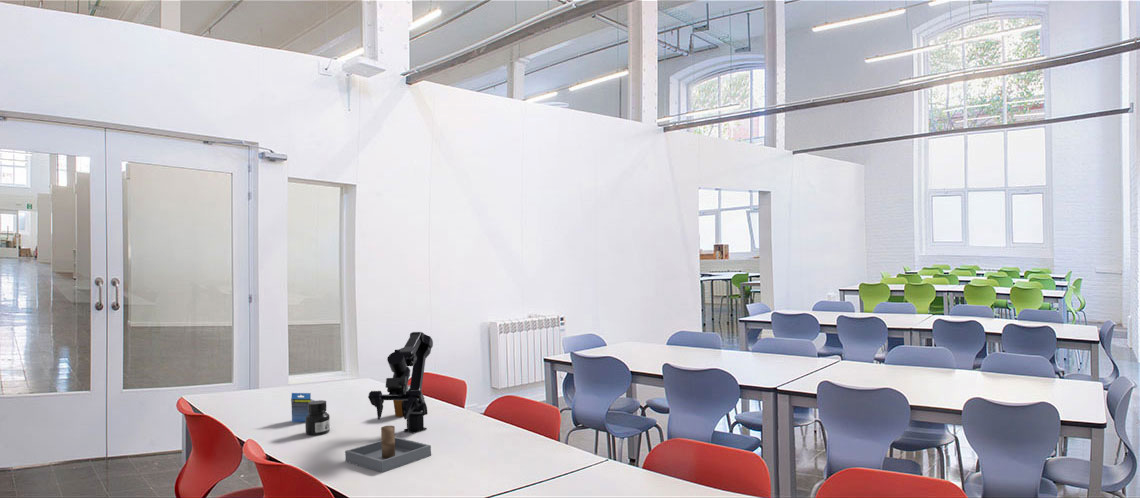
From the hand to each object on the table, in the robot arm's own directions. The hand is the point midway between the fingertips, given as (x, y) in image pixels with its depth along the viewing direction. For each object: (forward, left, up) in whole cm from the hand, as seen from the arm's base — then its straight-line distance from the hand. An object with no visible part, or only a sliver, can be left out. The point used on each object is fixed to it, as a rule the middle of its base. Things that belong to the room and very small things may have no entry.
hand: (391, 418), depth 223 cm
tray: (-3, +4, -12) cm, 13 cm away
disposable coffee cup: (+41, -37, -12) cm, 57 cm away
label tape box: (+70, -8, -12) cm, 72 cm away
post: (-3, +4, -12) cm, 12 cm away
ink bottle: (+48, -1, -12) cm, 50 cm away
